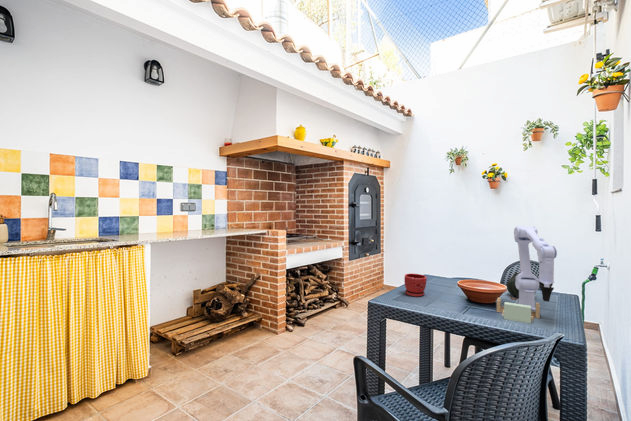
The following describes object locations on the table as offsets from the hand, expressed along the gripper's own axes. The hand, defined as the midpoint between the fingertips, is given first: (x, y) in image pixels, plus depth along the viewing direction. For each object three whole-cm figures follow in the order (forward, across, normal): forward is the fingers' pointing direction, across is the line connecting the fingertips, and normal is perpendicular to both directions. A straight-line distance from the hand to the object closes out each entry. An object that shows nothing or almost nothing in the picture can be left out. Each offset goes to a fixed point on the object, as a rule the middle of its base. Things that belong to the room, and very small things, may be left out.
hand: (545, 299), depth 158 cm
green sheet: (+10, +7, -11) cm, 17 cm away
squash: (+11, -43, -11) cm, 45 cm away
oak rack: (+10, -4, -12) cm, 16 cm away
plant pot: (+11, -10, -66) cm, 67 cm away
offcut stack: (+11, +2, -12) cm, 16 cm away
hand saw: (+11, -41, -21) cm, 47 cm away
